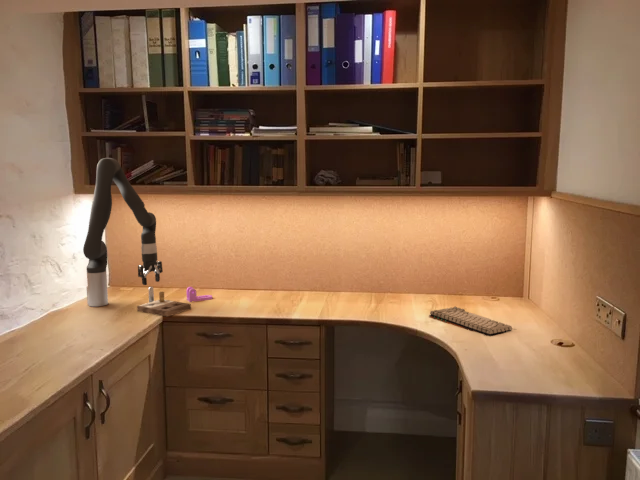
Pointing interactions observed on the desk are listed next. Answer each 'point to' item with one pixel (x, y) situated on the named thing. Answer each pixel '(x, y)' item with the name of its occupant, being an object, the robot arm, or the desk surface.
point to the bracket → (192, 296)
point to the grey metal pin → (151, 294)
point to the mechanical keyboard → (470, 321)
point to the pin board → (163, 307)
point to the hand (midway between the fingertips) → (151, 283)
